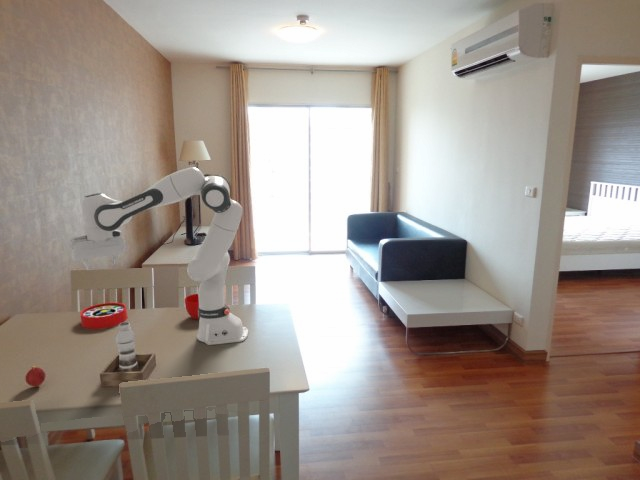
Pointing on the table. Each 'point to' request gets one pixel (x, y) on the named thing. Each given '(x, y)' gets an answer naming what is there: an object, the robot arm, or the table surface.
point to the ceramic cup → (192, 305)
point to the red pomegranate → (35, 376)
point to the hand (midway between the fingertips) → (101, 267)
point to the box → (114, 377)
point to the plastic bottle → (126, 348)
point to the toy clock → (103, 315)
